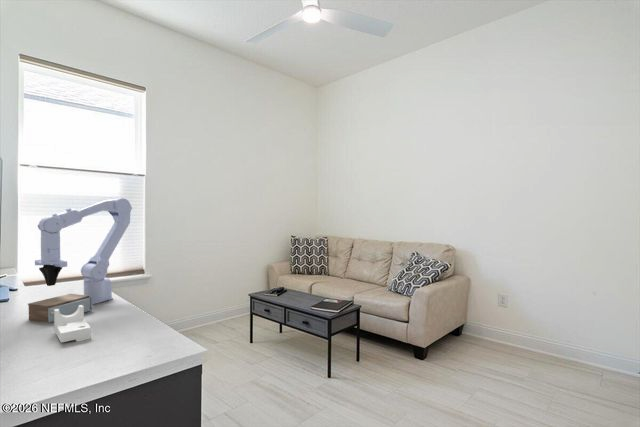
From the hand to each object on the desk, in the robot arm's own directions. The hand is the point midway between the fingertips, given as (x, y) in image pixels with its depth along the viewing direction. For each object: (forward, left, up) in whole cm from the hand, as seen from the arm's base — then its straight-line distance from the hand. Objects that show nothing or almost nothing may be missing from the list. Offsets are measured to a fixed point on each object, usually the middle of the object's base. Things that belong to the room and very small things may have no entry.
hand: (51, 285), depth 128 cm
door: (+3, +15, -9) cm, 18 cm away
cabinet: (+3, +9, -9) cm, 13 cm away
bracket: (+16, +33, -10) cm, 38 cm away
